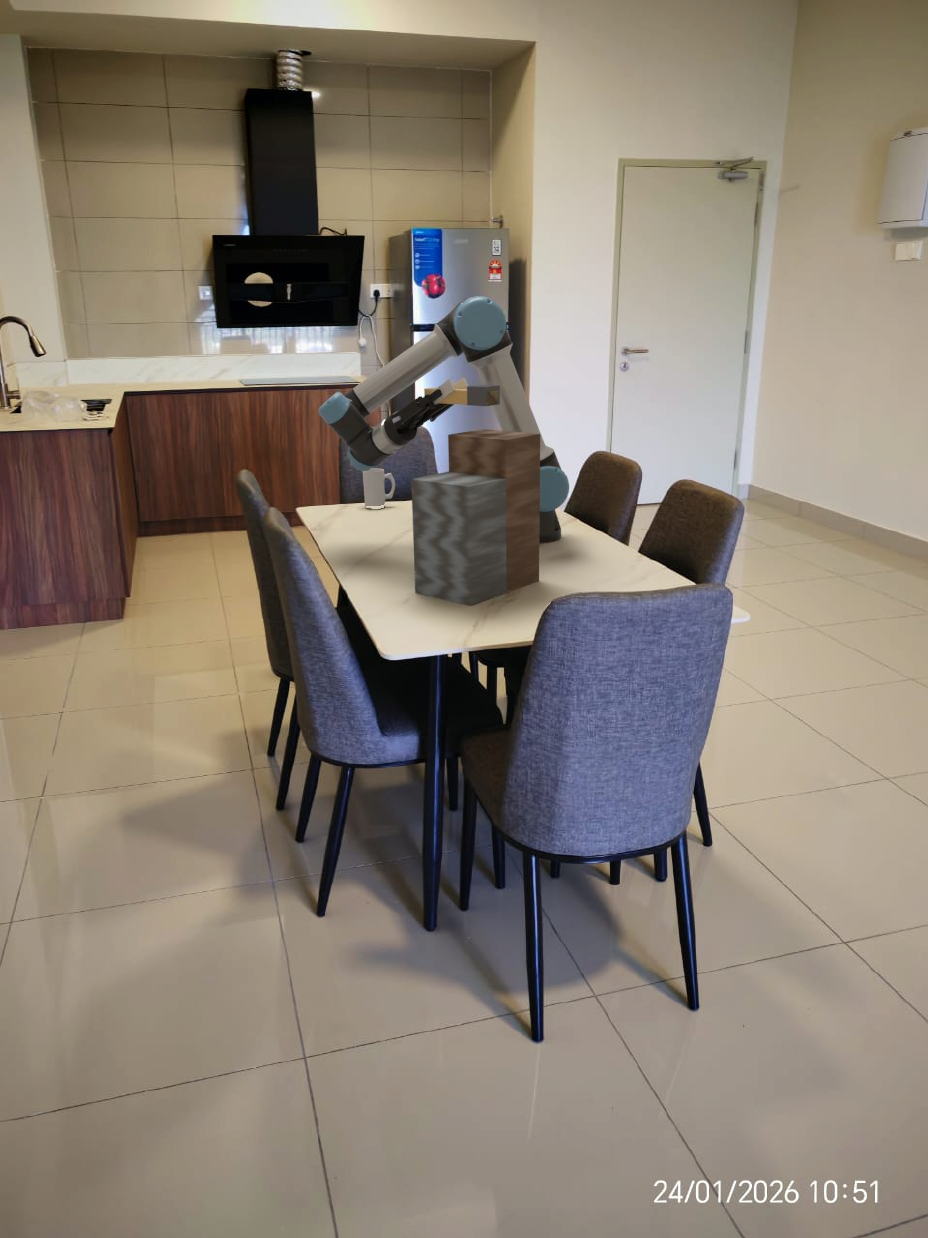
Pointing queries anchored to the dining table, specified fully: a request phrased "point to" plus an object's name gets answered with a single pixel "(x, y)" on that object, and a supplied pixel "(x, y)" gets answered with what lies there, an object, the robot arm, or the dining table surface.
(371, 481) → the mug
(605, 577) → the dining table surface
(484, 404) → the block
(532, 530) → the stand
